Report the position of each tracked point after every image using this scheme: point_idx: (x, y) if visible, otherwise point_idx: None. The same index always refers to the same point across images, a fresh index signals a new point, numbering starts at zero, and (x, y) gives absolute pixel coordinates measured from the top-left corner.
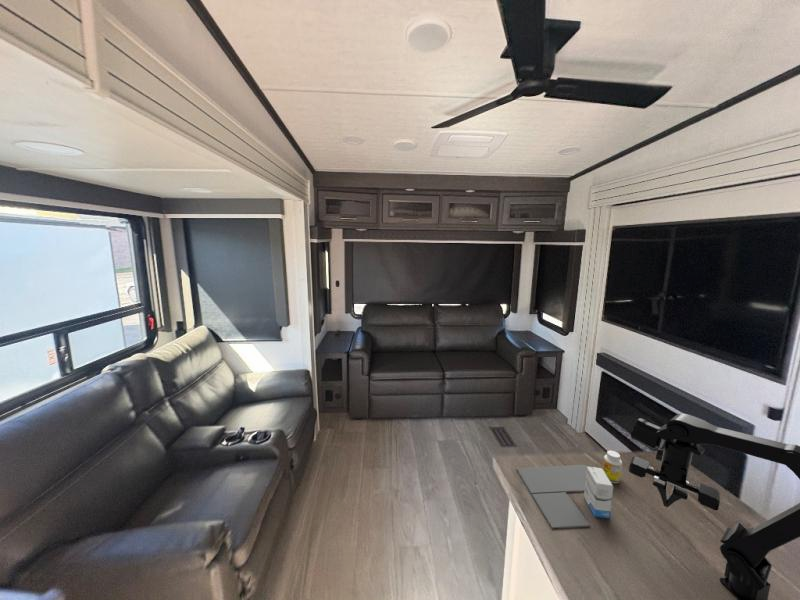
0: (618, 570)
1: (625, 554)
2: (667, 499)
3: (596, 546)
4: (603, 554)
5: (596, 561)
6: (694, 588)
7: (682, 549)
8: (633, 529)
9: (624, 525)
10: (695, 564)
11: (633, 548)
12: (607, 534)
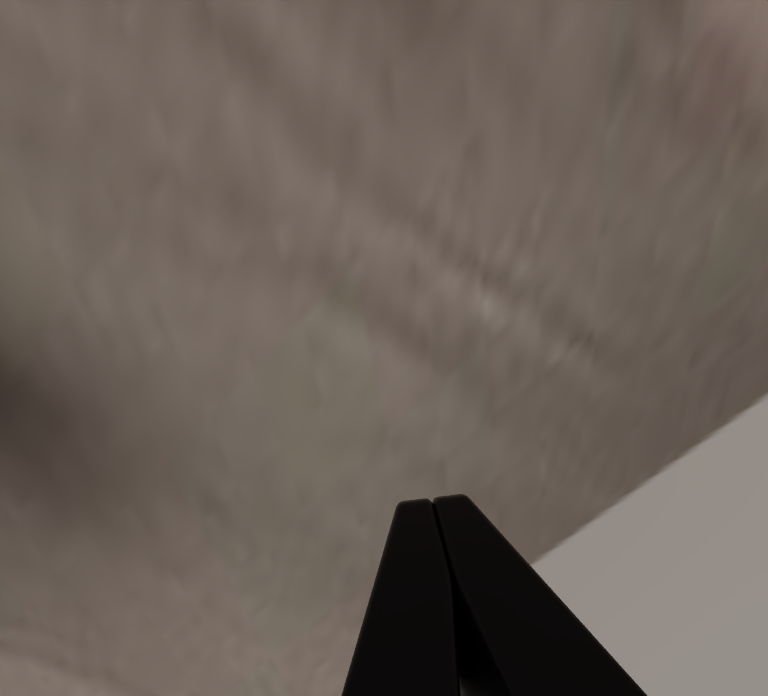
0: (237, 651)
1: (218, 536)
2: (468, 640)
3: (61, 606)
4: (125, 624)
5: (126, 681)
6: (621, 470)
7: (563, 140)
8: (147, 244)
9: (66, 259)
10: (654, 246)
11: (236, 452)
12: (40, 470)
